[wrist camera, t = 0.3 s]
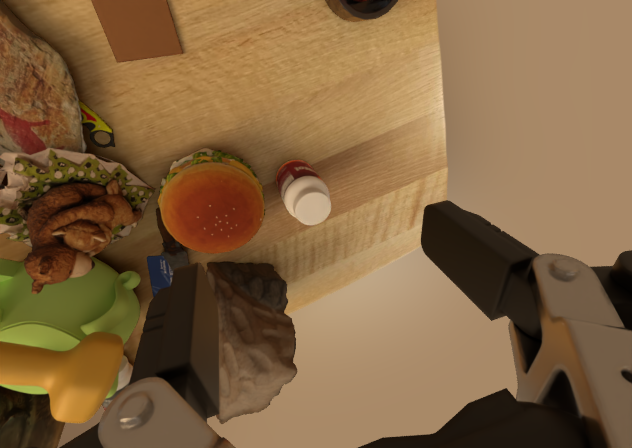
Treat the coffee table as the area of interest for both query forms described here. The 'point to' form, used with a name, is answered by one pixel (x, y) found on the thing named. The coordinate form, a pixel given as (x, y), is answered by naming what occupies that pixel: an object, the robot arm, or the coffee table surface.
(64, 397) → the dumbbell
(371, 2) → the dark round bowl
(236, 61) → the coffee table surface
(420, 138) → the coffee table surface
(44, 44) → the stone artifact
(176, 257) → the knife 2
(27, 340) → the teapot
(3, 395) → the vessel
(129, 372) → the pill bottle
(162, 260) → the credit card
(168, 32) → the coaster
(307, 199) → the pill bottle
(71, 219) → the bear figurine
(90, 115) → the knife
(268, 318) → the owl
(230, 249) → the burger
